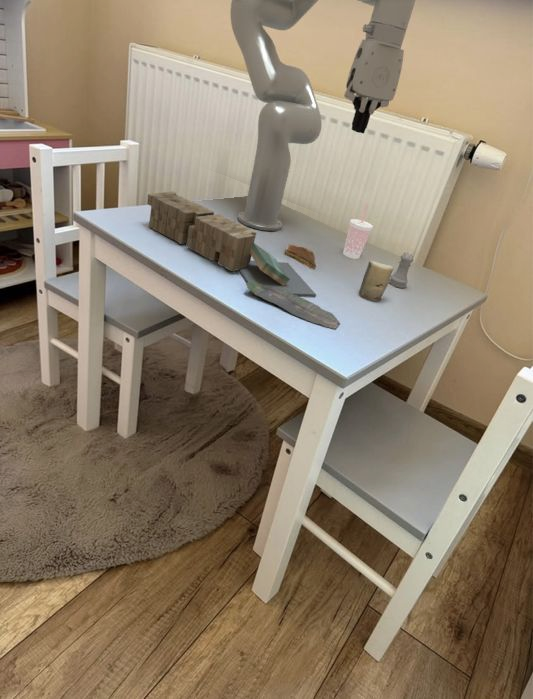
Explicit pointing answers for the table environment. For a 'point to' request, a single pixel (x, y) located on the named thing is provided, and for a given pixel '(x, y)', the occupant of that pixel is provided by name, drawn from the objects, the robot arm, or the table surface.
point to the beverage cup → (357, 237)
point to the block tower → (201, 229)
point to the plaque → (268, 264)
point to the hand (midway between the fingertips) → (357, 131)
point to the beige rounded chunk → (375, 280)
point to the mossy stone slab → (294, 304)
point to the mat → (293, 285)
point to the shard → (301, 255)
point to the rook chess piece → (402, 271)
